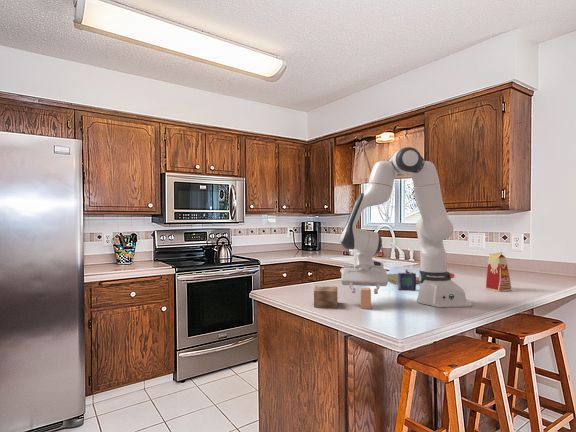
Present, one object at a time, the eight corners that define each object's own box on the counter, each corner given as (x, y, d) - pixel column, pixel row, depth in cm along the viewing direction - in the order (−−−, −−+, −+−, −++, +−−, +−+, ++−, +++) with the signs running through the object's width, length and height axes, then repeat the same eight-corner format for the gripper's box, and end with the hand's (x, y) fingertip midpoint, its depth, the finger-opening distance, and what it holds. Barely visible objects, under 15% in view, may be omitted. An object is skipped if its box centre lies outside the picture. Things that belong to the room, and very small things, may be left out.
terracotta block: (370, 306, 158) (370, 288, 158) (370, 309, 154) (370, 290, 154) (360, 306, 158) (360, 287, 158) (361, 308, 154) (361, 289, 154)
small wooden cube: (337, 302, 166) (337, 286, 165) (337, 307, 156) (337, 291, 156) (315, 301, 167) (315, 286, 167) (314, 307, 157) (313, 291, 157)
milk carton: (511, 290, 188) (511, 251, 188) (499, 292, 185) (498, 252, 185) (495, 287, 197) (495, 250, 197) (483, 288, 193) (483, 251, 193)
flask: (397, 290, 191) (397, 269, 191) (397, 289, 194) (397, 268, 194) (416, 290, 189) (416, 270, 189) (415, 289, 192) (415, 269, 192)
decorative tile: (406, 278, 227) (406, 272, 227) (427, 284, 208) (427, 278, 208) (379, 280, 222) (379, 274, 222) (397, 286, 203) (397, 280, 203)
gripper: (340, 262, 166) (340, 288, 156) (386, 263, 163) (389, 289, 153) (340, 270, 170) (340, 296, 160) (385, 271, 167) (388, 297, 158)
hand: (364, 292), depth 157 cm, fingers open, 8 cm apart
